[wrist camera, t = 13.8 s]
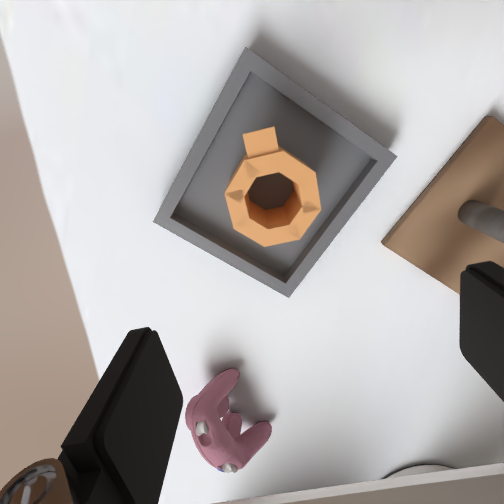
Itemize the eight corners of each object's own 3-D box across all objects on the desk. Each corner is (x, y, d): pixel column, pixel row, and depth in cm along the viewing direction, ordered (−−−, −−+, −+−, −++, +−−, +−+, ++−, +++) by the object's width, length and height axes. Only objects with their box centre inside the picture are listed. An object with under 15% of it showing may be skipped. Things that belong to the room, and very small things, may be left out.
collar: (296, 118, 24) (307, 118, 20) (312, 213, 27) (325, 234, 22) (218, 137, 25) (210, 142, 20) (242, 229, 28) (239, 252, 23)
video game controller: (206, 363, 36) (167, 420, 30) (239, 364, 33) (203, 427, 28) (244, 422, 39) (215, 484, 34) (277, 427, 37) (251, 495, 31)
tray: (387, 153, 26) (397, 156, 24) (286, 286, 30) (288, 297, 28) (246, 52, 23) (245, 46, 21) (159, 214, 28) (152, 221, 26)
